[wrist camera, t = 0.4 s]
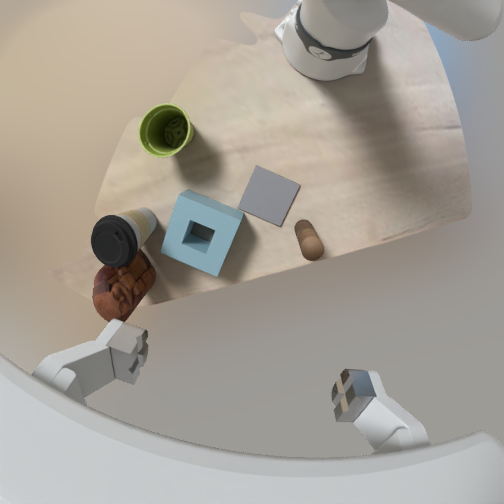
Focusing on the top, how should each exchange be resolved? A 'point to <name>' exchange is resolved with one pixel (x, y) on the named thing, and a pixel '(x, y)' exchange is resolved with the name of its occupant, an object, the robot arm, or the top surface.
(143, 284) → the wooden figurine
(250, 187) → the pad
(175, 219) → the socket
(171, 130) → the plant pot
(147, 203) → the top surface
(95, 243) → the coffee cup
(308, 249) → the peg
